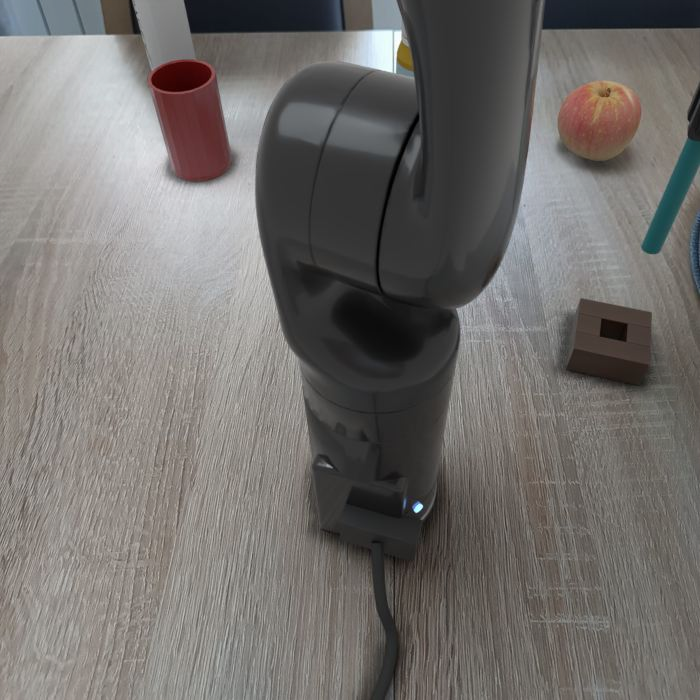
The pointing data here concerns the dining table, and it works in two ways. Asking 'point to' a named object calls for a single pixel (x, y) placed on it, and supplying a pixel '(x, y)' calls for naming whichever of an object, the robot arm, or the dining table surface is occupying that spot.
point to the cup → (191, 118)
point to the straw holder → (610, 341)
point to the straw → (673, 197)
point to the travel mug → (164, 31)
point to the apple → (599, 120)
